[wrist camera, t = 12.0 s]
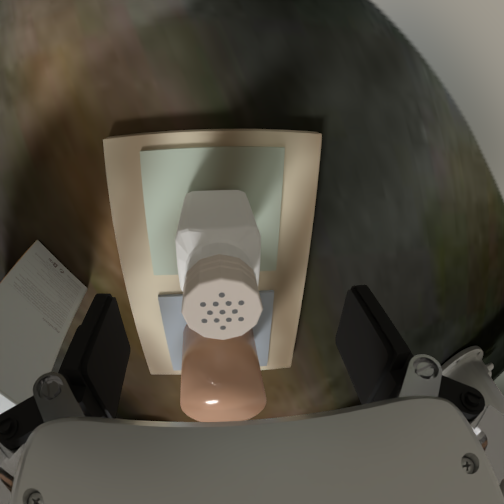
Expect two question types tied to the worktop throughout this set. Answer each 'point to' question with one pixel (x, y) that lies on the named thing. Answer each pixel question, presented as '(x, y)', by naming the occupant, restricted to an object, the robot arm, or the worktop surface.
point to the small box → (33, 320)
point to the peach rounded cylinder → (220, 378)
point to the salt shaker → (219, 263)
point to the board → (168, 214)
